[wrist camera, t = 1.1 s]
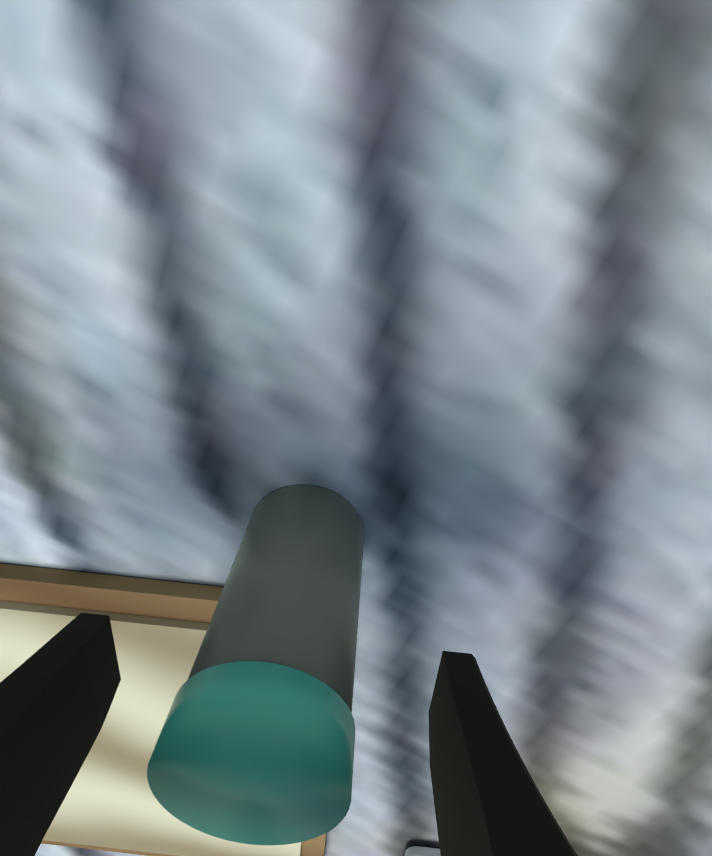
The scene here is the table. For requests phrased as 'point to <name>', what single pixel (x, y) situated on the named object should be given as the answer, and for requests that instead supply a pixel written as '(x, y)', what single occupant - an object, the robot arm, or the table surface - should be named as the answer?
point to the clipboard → (123, 703)
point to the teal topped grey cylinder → (272, 682)
